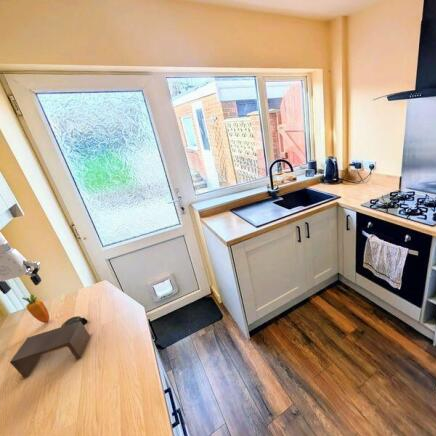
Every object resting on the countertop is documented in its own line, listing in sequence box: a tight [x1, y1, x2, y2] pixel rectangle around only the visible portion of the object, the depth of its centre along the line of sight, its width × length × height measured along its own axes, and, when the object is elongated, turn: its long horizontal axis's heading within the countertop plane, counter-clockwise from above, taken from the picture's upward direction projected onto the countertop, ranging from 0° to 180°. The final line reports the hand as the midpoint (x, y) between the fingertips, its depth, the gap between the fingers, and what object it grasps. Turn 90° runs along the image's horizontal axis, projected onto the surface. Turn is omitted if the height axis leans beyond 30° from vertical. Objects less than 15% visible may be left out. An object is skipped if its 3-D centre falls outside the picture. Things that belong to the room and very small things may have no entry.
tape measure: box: [60, 316, 88, 327], centre depth 98 cm, size 7×7×4 cm
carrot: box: [21, 293, 50, 324], centre depth 100 cm, size 5×5×15 cm
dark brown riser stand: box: [9, 321, 91, 379], centre depth 86 cm, size 16×10×8 cm, turn 111°
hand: (23, 287), depth 95 cm, fingers open, 9 cm apart
